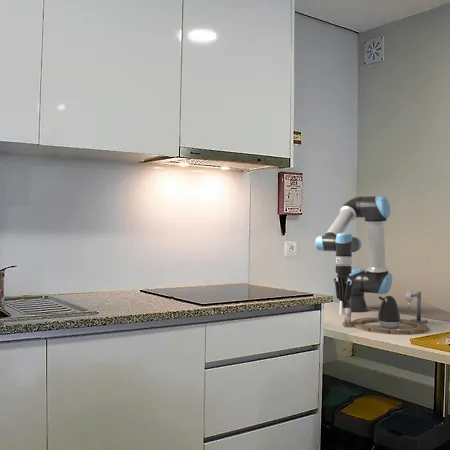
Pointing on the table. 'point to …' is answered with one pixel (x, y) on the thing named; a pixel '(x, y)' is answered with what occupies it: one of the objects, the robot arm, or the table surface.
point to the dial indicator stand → (409, 297)
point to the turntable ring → (359, 325)
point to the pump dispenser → (388, 312)
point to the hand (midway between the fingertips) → (342, 314)
